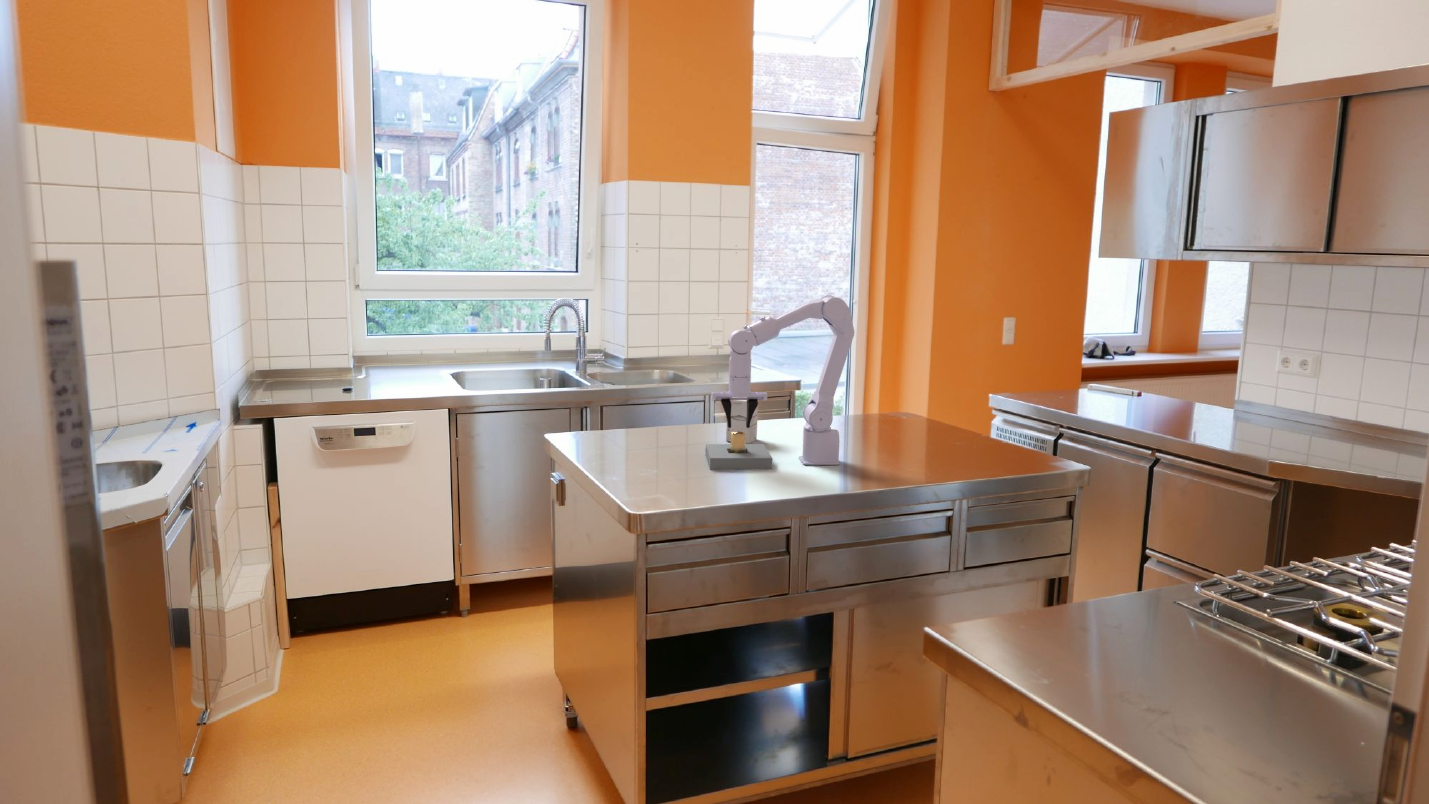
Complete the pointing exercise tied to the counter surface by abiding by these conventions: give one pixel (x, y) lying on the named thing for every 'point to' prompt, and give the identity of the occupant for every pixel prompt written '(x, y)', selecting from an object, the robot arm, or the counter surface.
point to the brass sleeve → (738, 442)
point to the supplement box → (742, 421)
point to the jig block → (738, 457)
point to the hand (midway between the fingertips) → (738, 427)
